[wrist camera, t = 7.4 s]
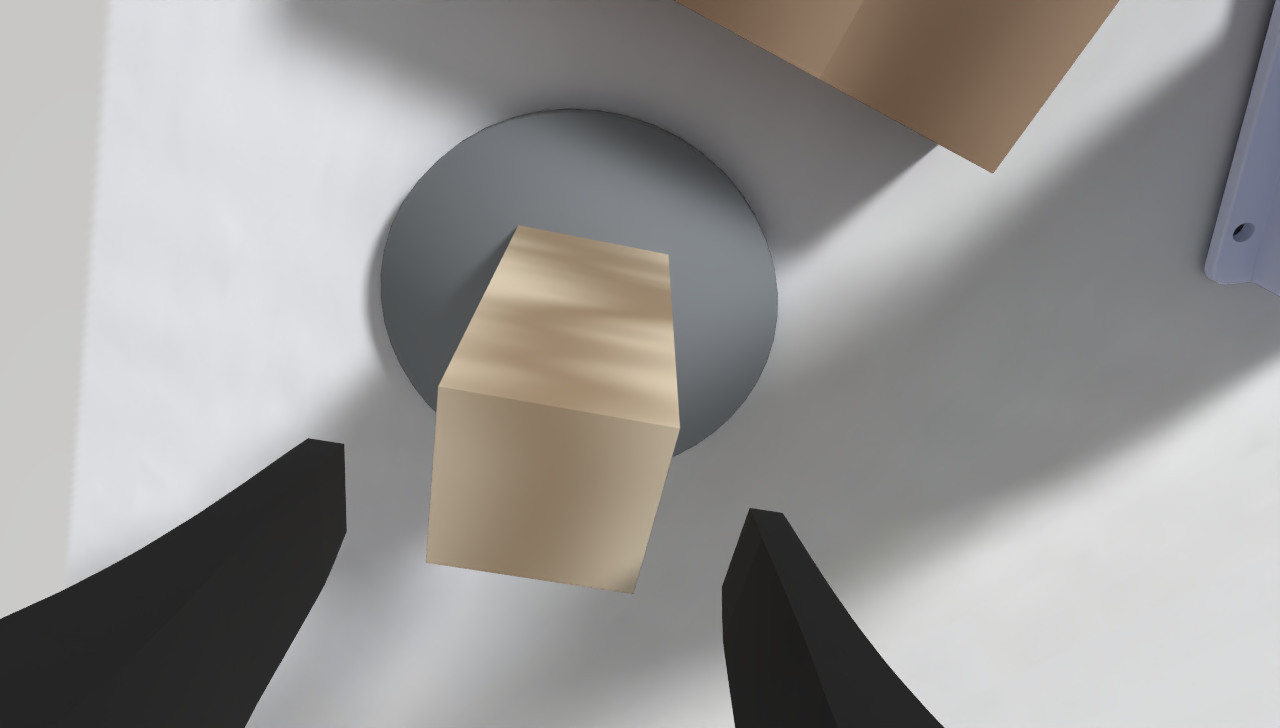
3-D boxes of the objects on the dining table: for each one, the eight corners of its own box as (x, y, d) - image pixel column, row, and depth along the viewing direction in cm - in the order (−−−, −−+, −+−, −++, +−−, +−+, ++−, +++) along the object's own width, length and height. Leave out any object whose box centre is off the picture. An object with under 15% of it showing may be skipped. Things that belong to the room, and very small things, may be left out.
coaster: (783, 442, 22) (786, 453, 22) (450, 479, 23) (445, 491, 23) (761, 76, 17) (765, 80, 16) (328, 144, 18) (319, 149, 17)
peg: (668, 254, 19) (679, 428, 12) (638, 380, 21) (633, 594, 14) (518, 225, 18) (438, 386, 11) (502, 356, 20) (425, 562, 13)
